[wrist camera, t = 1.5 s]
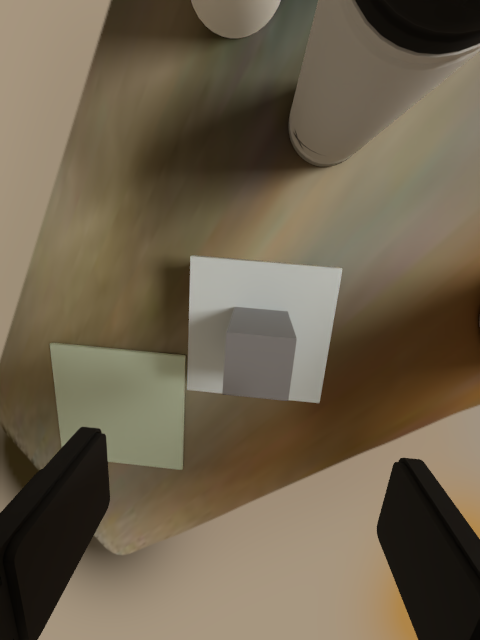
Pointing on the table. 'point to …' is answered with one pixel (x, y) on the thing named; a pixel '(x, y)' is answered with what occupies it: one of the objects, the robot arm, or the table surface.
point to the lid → (260, 327)
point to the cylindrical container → (235, 15)
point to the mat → (123, 401)
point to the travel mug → (374, 68)
